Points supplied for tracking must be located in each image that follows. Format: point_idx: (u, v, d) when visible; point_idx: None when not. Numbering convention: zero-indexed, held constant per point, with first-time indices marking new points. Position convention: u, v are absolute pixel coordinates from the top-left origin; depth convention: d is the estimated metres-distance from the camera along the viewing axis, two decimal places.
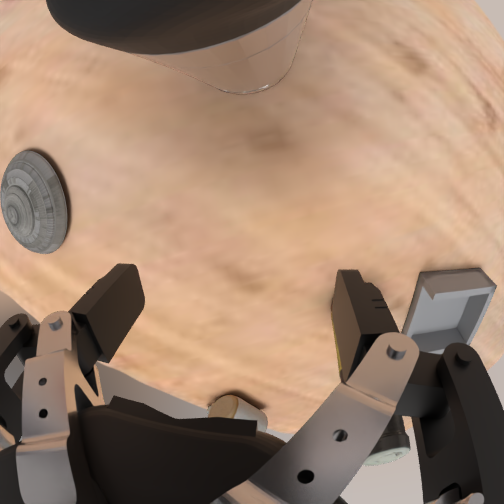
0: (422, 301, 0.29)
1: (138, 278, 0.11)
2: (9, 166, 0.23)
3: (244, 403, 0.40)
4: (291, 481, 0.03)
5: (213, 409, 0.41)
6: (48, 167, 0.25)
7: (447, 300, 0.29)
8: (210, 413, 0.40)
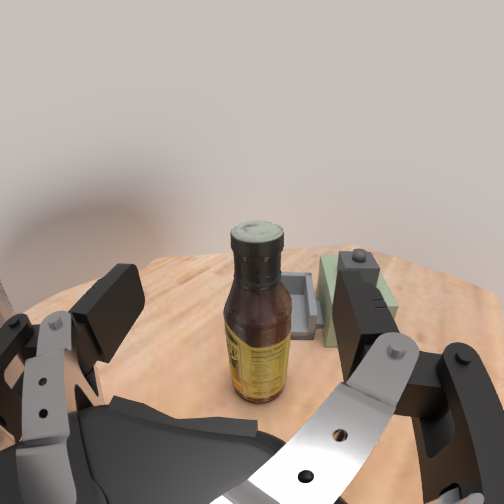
0: None
1: (138, 278, 0.11)
2: None
3: None
4: (291, 481, 0.03)
5: None
6: None
7: None
8: None
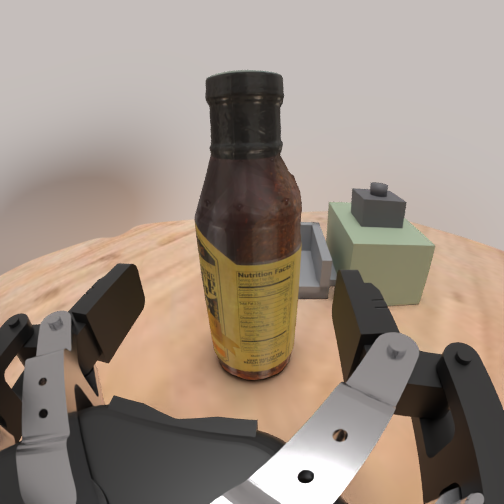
0: None
1: (138, 278, 0.11)
2: None
3: None
4: (291, 481, 0.03)
5: None
6: None
7: None
8: None
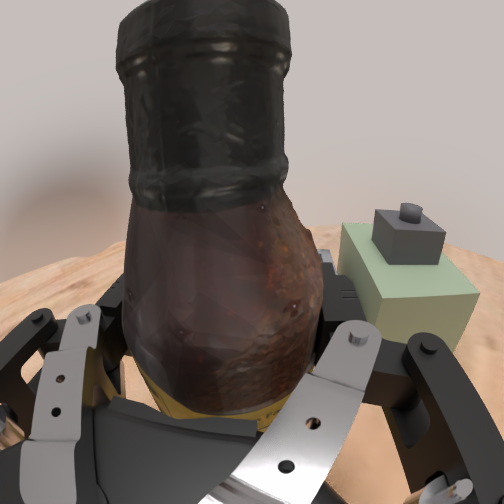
0: None
1: None
2: None
3: None
4: (273, 473, 0.03)
5: None
6: None
7: None
8: None
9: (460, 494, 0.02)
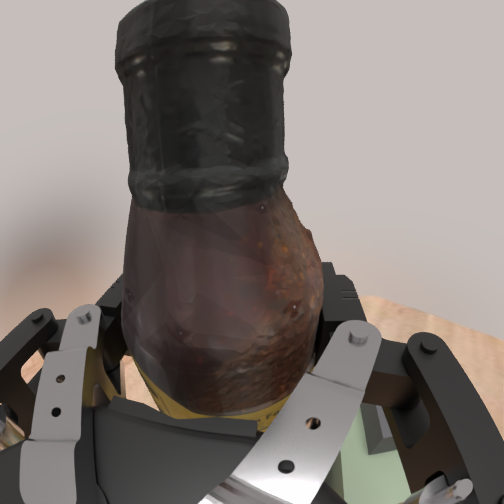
0: None
1: None
2: None
3: None
4: (272, 473, 0.03)
5: None
6: None
7: None
8: None
9: (460, 494, 0.02)
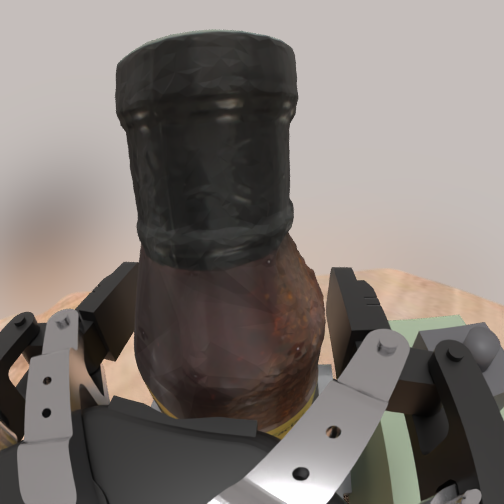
0: None
1: None
2: None
3: None
4: (286, 479, 0.03)
5: None
6: None
7: None
8: None
9: None
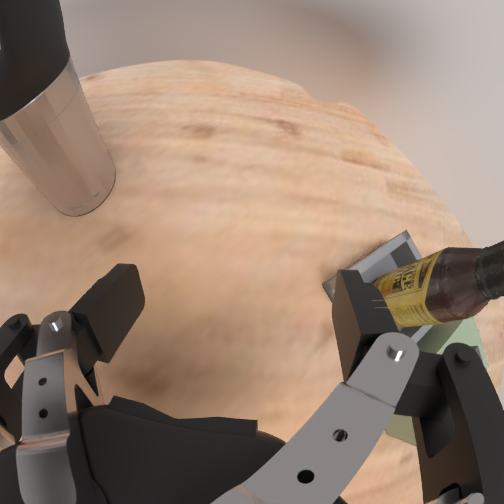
0: None
1: (138, 278, 0.11)
2: None
3: None
4: (291, 481, 0.03)
5: None
6: None
7: None
8: None
9: None
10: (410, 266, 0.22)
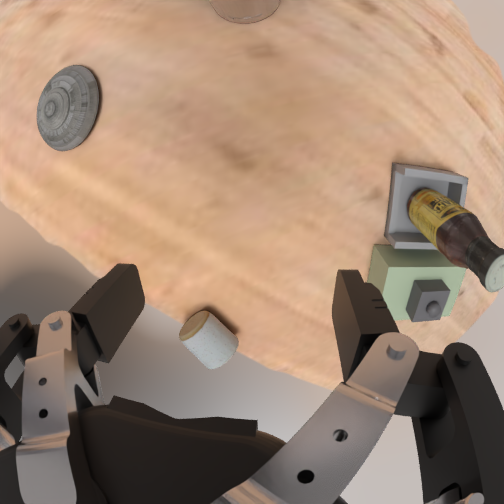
0: (398, 188, 0.33)
1: (138, 278, 0.11)
2: (54, 76, 0.28)
3: (215, 318, 0.45)
4: (291, 481, 0.03)
5: (185, 325, 0.45)
6: (90, 75, 0.29)
7: None
8: (182, 329, 0.45)
9: None
10: (448, 201, 0.26)
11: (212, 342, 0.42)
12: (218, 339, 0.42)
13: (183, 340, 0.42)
